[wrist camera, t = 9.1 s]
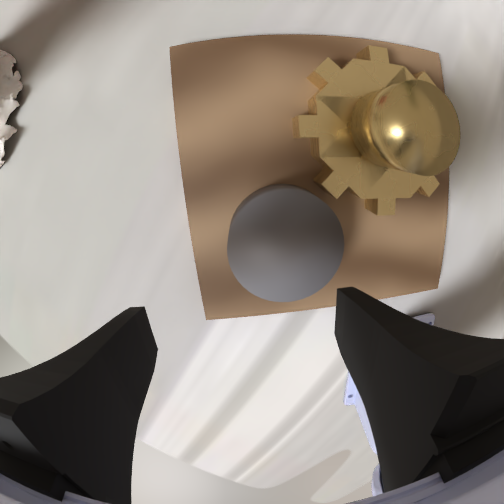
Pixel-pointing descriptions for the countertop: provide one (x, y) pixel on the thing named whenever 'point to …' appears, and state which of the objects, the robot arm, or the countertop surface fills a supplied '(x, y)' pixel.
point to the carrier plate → (287, 183)
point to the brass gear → (378, 130)
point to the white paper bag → (7, 97)
